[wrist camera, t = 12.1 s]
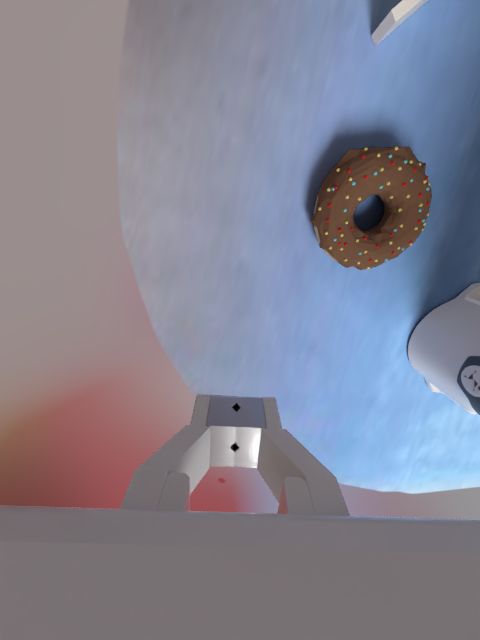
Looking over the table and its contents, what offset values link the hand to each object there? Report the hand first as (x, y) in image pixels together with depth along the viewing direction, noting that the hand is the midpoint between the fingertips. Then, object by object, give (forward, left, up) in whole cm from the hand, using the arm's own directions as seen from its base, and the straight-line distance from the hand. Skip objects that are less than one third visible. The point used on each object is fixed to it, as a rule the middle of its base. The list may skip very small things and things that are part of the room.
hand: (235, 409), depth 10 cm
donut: (-16, -8, -30) cm, 34 cm away
